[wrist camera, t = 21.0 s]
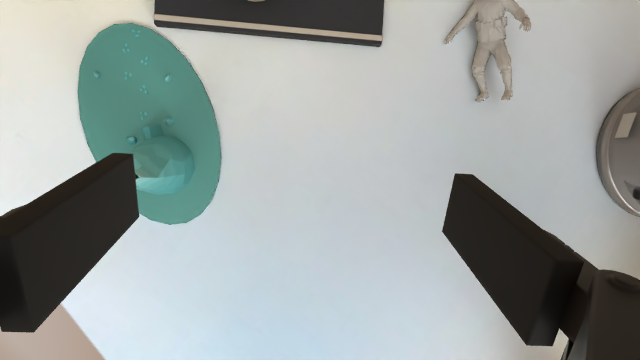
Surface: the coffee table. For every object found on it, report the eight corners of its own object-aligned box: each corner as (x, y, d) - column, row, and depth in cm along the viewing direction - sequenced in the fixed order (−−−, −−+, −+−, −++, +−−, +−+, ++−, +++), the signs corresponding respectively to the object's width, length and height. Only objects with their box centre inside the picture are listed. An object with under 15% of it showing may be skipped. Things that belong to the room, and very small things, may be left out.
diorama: (177, 7, 36) (146, -41, 27) (245, 202, 38) (236, 214, 29) (50, 43, 35) (-24, 4, 26) (126, 242, 36) (80, 267, 28)
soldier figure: (446, 104, 41) (438, -18, 36) (460, 92, 44) (454, -21, 39) (527, 100, 36) (529, -40, 31) (535, 88, 39) (538, -41, 35)
